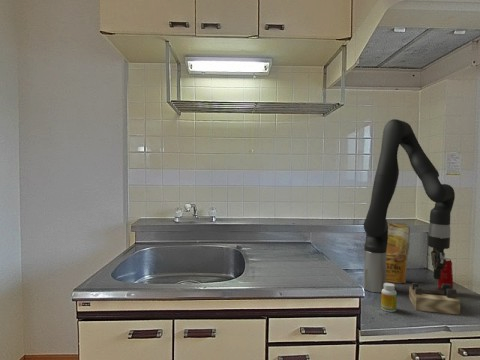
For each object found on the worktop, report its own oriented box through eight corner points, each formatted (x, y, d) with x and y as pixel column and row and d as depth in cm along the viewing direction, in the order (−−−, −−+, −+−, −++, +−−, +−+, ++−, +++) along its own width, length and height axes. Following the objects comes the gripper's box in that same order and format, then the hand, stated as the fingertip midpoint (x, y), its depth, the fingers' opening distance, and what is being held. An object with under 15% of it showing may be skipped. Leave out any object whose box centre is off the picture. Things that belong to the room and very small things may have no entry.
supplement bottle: (394, 313, 136) (395, 287, 136) (379, 310, 139) (380, 285, 139) (397, 308, 141) (397, 283, 140) (382, 305, 143) (383, 281, 143)
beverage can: (455, 296, 155) (456, 261, 154) (438, 295, 156) (439, 260, 155) (450, 291, 160) (451, 257, 160) (434, 290, 162) (435, 256, 161)
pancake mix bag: (366, 276, 182) (367, 220, 181) (408, 281, 175) (409, 223, 174) (365, 279, 176) (366, 222, 175) (408, 285, 169) (410, 225, 167)
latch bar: (416, 292, 143) (416, 289, 143) (414, 288, 147) (414, 285, 147) (451, 294, 140) (451, 291, 140) (448, 291, 144) (448, 288, 144)
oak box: (415, 310, 139) (416, 289, 139) (409, 297, 153) (409, 278, 152) (459, 314, 135) (460, 293, 135) (448, 301, 149) (449, 281, 148)
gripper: (424, 231, 150) (422, 273, 150) (432, 237, 137) (430, 283, 138) (445, 232, 148) (443, 274, 148) (454, 239, 135) (452, 285, 136)
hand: (436, 278), depth 143 cm, fingers closed
